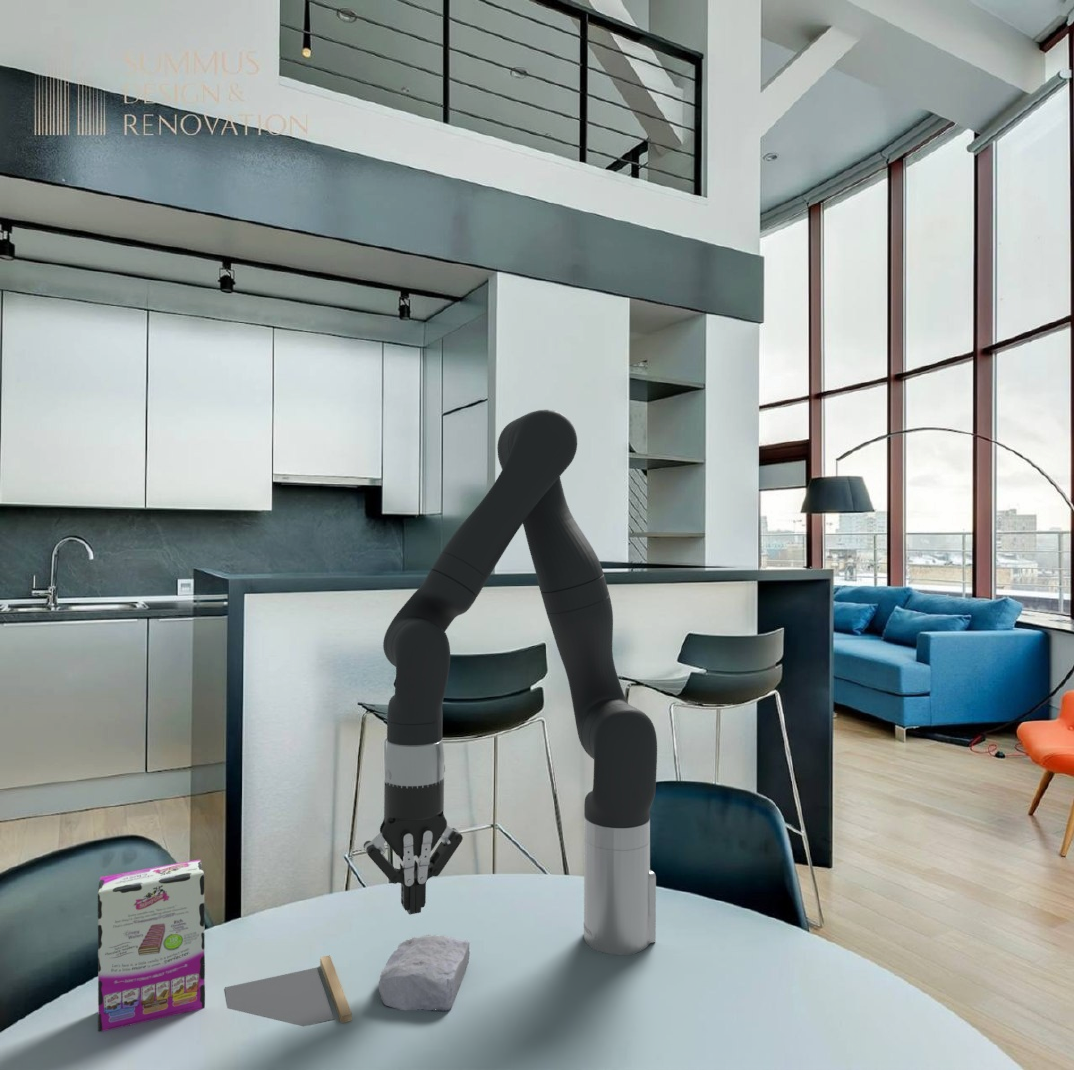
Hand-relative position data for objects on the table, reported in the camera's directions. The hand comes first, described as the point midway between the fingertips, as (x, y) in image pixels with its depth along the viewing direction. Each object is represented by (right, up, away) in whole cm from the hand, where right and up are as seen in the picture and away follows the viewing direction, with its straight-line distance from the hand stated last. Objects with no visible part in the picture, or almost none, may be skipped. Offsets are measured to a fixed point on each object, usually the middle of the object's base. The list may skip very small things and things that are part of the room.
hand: (412, 910), depth 101 cm
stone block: (-3, -8, -2) cm, 8 cm away
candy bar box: (-29, -8, -9) cm, 31 cm away
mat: (-15, -8, -7) cm, 18 cm away
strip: (-9, -8, -4) cm, 13 cm away
